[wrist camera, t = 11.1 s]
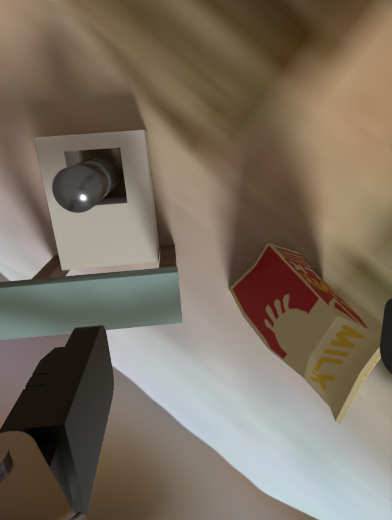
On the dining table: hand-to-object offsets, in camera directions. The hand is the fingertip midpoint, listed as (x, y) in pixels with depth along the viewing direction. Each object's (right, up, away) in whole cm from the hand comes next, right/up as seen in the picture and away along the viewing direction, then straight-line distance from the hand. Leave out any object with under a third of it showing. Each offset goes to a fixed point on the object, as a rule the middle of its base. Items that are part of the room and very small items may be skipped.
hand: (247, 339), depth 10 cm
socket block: (-11, +9, +28) cm, 31 cm away
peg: (-11, +11, +27) cm, 31 cm away
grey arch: (-11, +4, +30) cm, 32 cm away
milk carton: (+9, -1, +33) cm, 34 cm away
